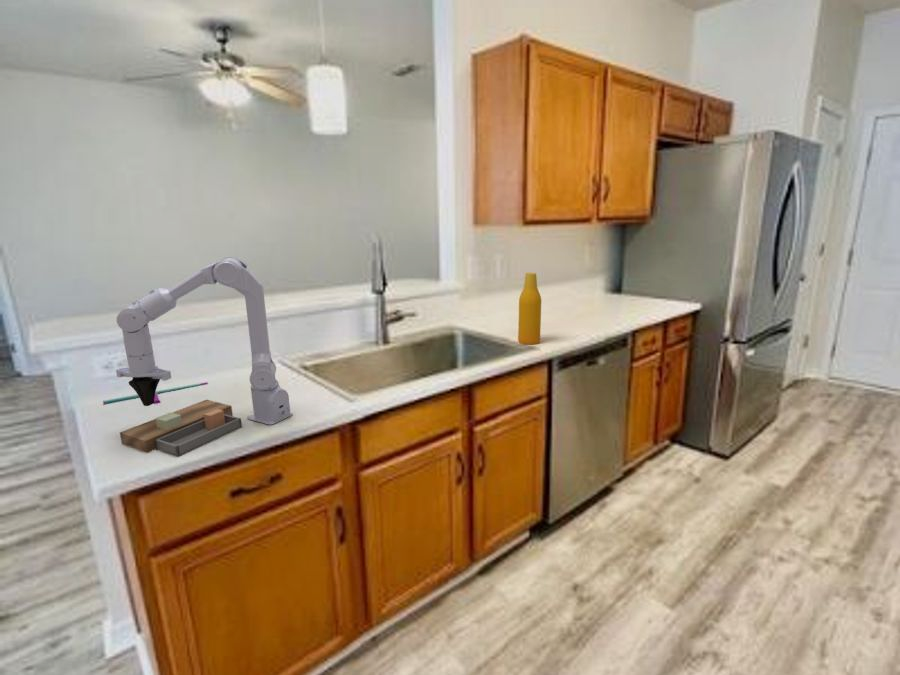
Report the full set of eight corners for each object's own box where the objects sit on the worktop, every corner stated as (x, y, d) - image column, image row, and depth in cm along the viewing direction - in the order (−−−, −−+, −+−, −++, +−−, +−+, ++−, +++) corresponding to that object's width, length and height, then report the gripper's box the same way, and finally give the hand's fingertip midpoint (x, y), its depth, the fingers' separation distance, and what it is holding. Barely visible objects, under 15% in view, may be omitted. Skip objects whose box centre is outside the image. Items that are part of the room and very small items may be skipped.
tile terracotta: (219, 422, 132) (225, 424, 131) (205, 428, 129) (212, 430, 128) (217, 408, 131) (223, 410, 130) (203, 414, 128) (210, 415, 127)
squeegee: (104, 410, 140) (102, 399, 148) (105, 415, 140) (103, 405, 148) (213, 389, 157) (207, 381, 164) (214, 394, 157) (207, 386, 165)
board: (232, 415, 138) (231, 405, 137) (147, 452, 117) (145, 441, 117) (207, 409, 143) (206, 399, 142) (121, 443, 122) (119, 432, 121)
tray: (241, 427, 130) (240, 418, 130) (178, 456, 115) (176, 446, 114) (221, 421, 134) (219, 412, 134) (156, 449, 119) (154, 439, 118)
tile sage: (182, 424, 126) (180, 415, 125) (167, 430, 122) (165, 421, 122) (172, 421, 127) (170, 412, 127) (157, 427, 124) (155, 418, 123)
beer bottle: (543, 340, 210) (545, 272, 203) (535, 346, 202) (537, 275, 195) (523, 338, 215) (524, 271, 207) (514, 343, 207) (515, 274, 200)
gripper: (176, 350, 126) (184, 400, 129) (129, 348, 129) (137, 396, 132) (155, 358, 119) (163, 411, 123) (105, 355, 122) (115, 406, 126)
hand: (148, 404), depth 127 cm, fingers closed
